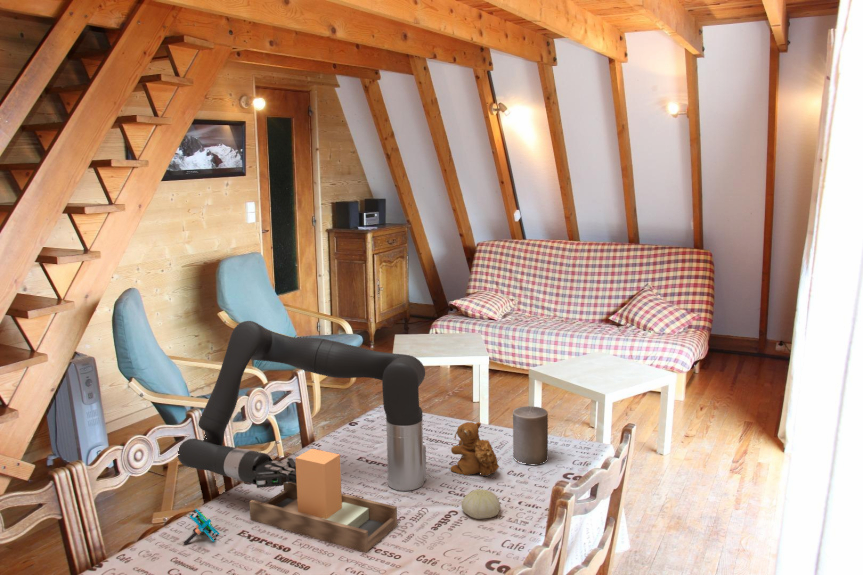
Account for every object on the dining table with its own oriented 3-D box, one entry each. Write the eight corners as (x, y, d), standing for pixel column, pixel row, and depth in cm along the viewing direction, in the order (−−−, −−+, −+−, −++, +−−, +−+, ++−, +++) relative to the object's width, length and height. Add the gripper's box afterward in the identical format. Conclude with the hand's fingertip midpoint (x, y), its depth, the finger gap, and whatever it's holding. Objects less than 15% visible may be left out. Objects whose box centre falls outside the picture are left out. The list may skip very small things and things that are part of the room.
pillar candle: (553, 456, 196) (553, 404, 194) (539, 468, 188) (539, 415, 186) (521, 449, 202) (521, 399, 199) (506, 461, 194) (506, 409, 191)
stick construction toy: (223, 536, 151) (198, 510, 150) (197, 560, 149) (172, 534, 148) (220, 525, 163) (198, 501, 162) (196, 548, 160) (173, 524, 159)
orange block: (298, 511, 160) (295, 457, 158) (314, 500, 165) (311, 448, 163) (326, 519, 156) (324, 464, 154) (341, 507, 162) (339, 454, 160)
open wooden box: (250, 519, 163) (249, 501, 162) (286, 496, 174) (285, 479, 173) (365, 552, 148) (365, 532, 147) (397, 525, 159) (396, 506, 159)
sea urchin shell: (505, 496, 169) (500, 484, 162) (499, 529, 164) (494, 518, 158) (468, 491, 172) (462, 479, 165) (462, 523, 167) (455, 512, 161)
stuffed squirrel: (469, 458, 196) (469, 413, 194) (509, 473, 186) (509, 425, 184) (444, 469, 189) (444, 423, 187) (485, 485, 179) (484, 436, 177)
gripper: (227, 461, 163) (285, 475, 155) (265, 441, 175) (321, 453, 167) (229, 491, 165) (287, 506, 157) (267, 470, 176) (322, 483, 168)
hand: (304, 479), depth 162 cm, fingers closed
